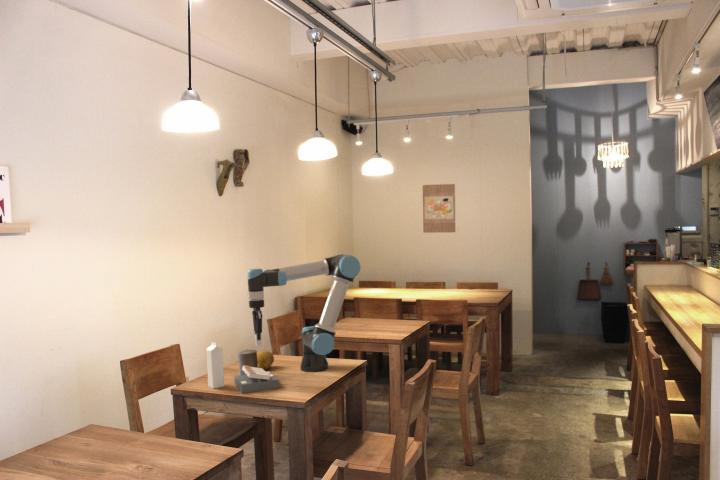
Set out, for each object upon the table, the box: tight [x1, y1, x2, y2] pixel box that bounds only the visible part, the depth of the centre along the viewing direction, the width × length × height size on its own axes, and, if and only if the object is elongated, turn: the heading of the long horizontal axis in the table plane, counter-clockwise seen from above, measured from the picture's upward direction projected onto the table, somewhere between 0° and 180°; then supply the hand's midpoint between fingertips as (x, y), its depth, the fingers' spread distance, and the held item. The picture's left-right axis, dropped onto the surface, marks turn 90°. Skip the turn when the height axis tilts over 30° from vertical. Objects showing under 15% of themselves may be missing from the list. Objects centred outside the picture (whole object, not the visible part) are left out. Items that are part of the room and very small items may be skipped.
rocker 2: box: [244, 368, 268, 375], centre depth 295 cm, size 10×5×2 cm, turn 112°
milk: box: [205, 341, 225, 389], centre depth 298 cm, size 6×6×22 cm
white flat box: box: [247, 371, 270, 380], centre depth 289 cm, size 10×5×2 cm, turn 112°
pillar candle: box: [237, 349, 258, 376], centre depth 313 cm, size 10×10×15 cm
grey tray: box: [233, 371, 280, 394], centre depth 295 cm, size 18×19×5 cm
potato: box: [257, 349, 275, 371], centre depth 331 cm, size 10×12×10 cm
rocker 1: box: [242, 365, 265, 372], centre depth 301 cm, size 10×5×2 cm, turn 112°
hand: (258, 346), depth 302 cm, fingers closed
